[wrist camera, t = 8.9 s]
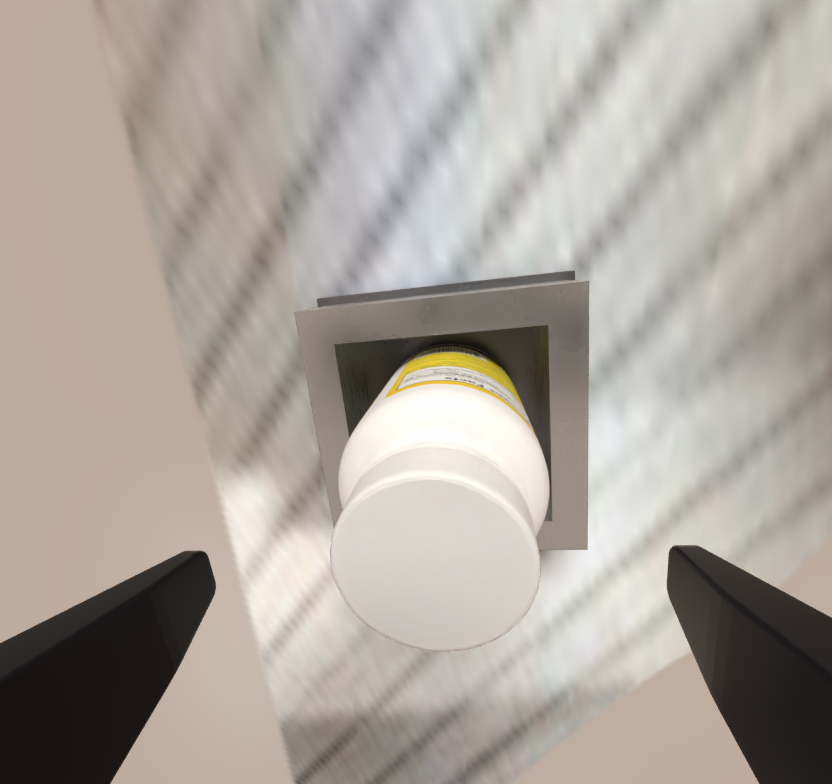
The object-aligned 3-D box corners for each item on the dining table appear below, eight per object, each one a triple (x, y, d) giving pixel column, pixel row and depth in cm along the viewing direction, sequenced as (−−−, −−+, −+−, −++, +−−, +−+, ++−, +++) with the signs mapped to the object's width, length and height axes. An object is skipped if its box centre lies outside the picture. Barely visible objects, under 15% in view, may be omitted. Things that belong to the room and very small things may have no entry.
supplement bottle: (444, 486, 18) (416, 719, 8) (362, 396, 17) (232, 542, 8) (546, 414, 16) (645, 600, 7) (459, 312, 16) (443, 368, 6)
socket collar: (569, 270, 15) (600, 269, 12) (570, 500, 18) (596, 556, 14) (323, 297, 17) (284, 303, 13) (357, 505, 20) (332, 557, 16)
